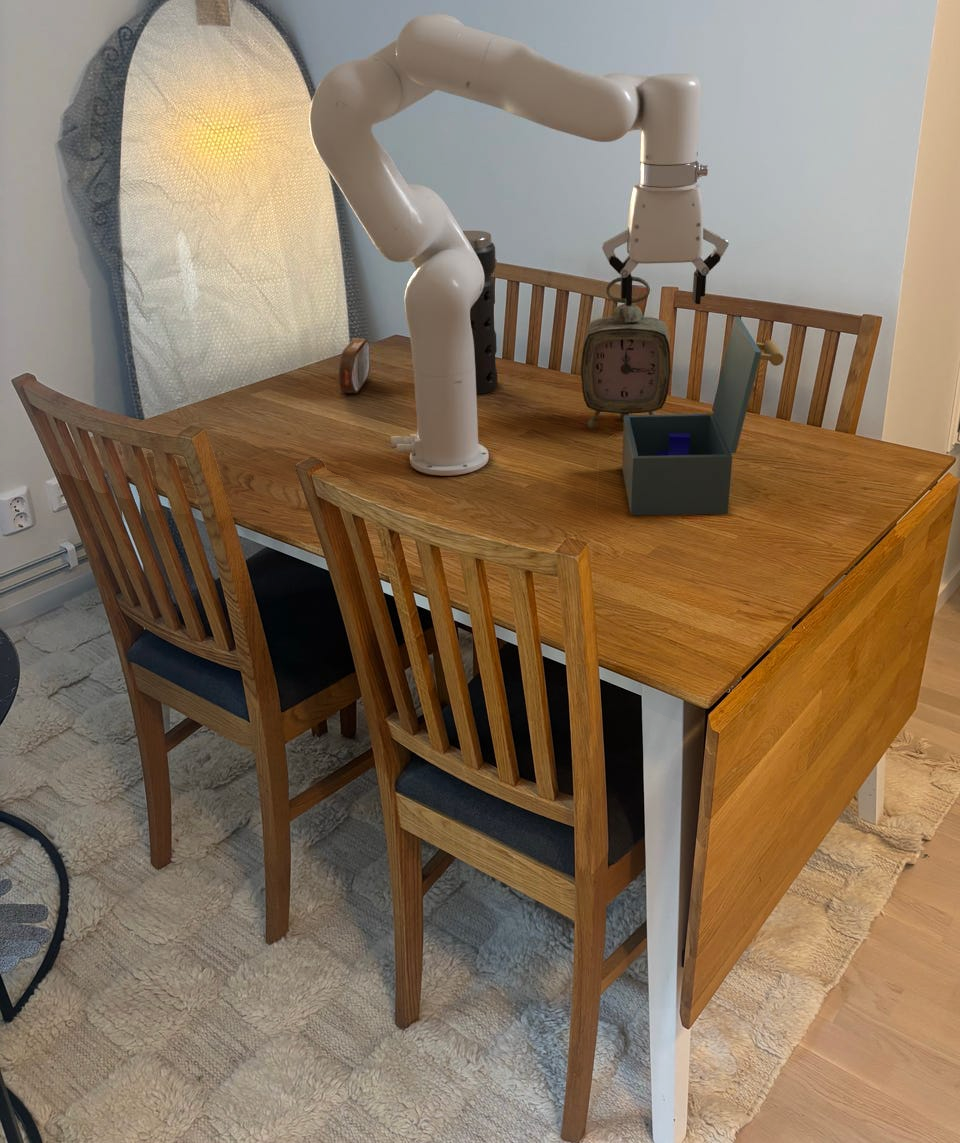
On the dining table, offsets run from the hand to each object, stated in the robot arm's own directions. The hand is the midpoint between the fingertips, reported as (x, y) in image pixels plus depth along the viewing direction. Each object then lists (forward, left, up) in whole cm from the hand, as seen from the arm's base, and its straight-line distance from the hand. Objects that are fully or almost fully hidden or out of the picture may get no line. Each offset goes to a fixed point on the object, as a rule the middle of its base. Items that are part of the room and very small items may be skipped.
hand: (662, 302), depth 152 cm
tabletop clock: (-3, +21, -26) cm, 34 cm away
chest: (+2, -6, -26) cm, 27 cm away
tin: (-52, +43, -26) cm, 72 cm away
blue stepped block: (+2, -7, -26) cm, 27 cm away
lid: (+10, -6, -10) cm, 15 cm away
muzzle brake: (-30, +41, -26) cm, 57 cm away
